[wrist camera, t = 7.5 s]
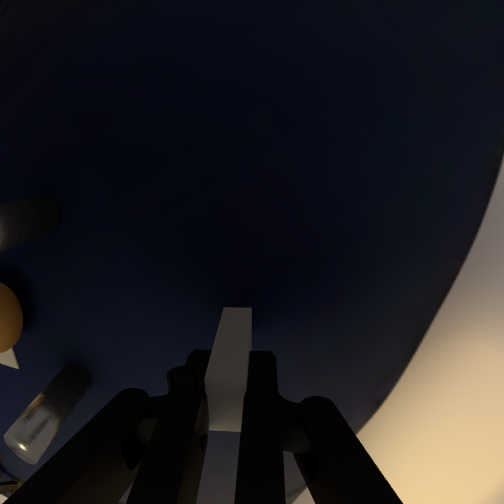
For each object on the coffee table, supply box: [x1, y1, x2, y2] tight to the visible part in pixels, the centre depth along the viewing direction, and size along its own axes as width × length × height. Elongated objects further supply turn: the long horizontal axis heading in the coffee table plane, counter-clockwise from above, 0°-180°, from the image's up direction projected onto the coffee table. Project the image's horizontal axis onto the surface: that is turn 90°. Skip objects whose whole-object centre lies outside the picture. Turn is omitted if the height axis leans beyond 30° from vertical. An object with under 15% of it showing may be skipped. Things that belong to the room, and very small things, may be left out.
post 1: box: [0, 196, 61, 252], centre depth 14 cm, size 3×3×9 cm
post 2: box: [4, 363, 91, 464], centre depth 17 cm, size 3×3×9 cm
